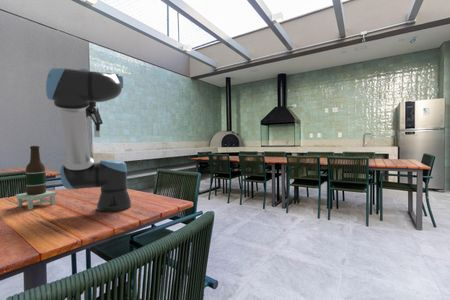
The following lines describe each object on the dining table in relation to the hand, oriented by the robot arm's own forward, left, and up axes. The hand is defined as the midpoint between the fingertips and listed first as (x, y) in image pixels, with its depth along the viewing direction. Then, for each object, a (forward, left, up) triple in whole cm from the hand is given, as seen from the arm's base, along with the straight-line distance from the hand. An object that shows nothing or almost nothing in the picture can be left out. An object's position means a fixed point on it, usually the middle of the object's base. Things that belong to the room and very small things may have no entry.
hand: (89, 136), depth 132 cm
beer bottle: (+8, +23, -29) cm, 38 cm away
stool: (+8, +23, -35) cm, 42 cm away
